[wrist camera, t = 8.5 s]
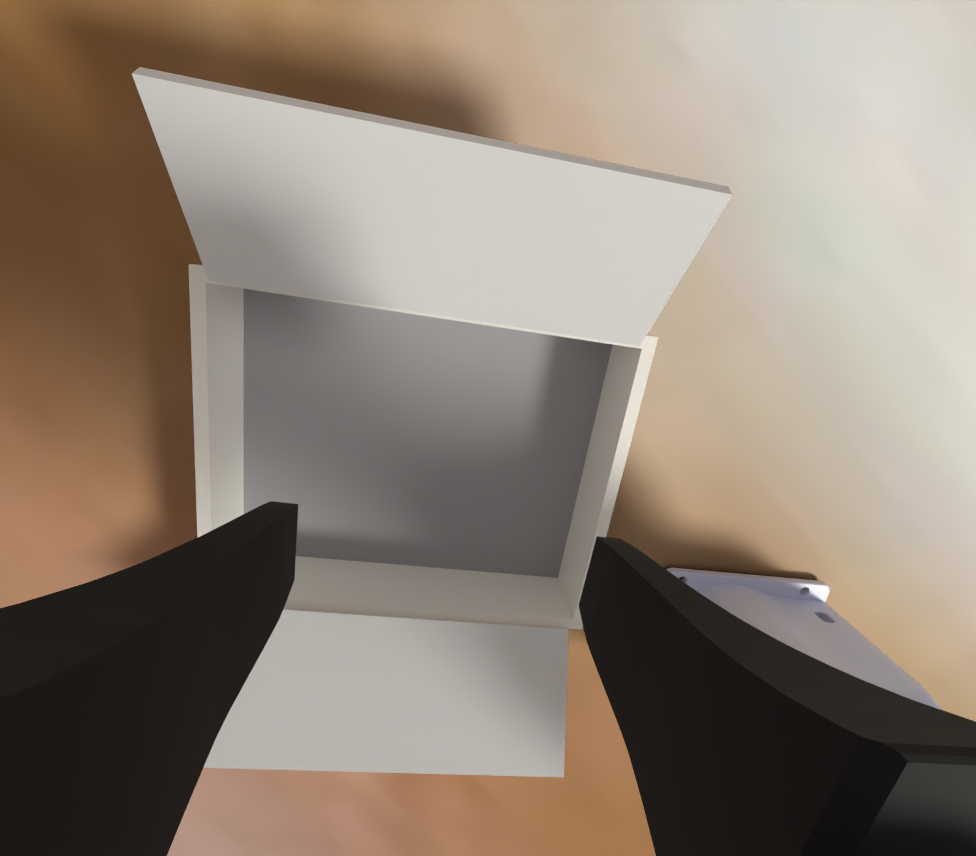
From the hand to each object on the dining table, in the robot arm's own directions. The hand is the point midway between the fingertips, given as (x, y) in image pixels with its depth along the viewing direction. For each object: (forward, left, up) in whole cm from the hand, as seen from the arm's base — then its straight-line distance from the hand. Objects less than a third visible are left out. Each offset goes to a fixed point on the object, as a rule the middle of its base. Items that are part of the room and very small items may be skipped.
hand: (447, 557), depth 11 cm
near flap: (+1, -7, -5) cm, 9 cm away
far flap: (+1, +10, -5) cm, 11 cm away
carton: (+1, +1, -10) cm, 10 cm away
